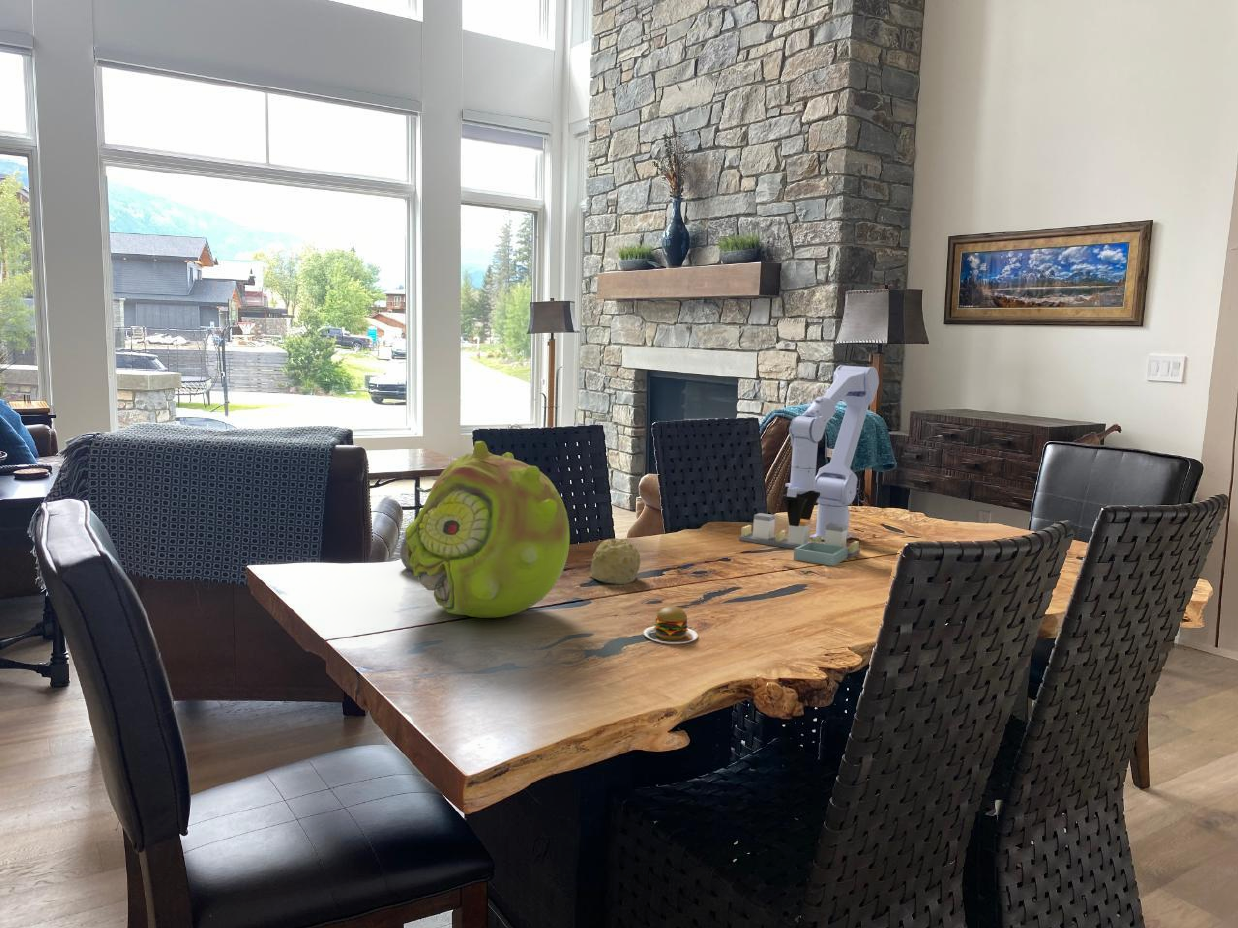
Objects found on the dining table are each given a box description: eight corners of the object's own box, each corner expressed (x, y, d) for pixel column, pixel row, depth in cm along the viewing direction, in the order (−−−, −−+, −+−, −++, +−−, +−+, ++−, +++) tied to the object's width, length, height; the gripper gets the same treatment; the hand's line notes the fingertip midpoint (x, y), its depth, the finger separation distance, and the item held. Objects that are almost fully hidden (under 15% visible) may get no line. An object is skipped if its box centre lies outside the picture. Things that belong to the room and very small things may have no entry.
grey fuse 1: (758, 534, 235) (759, 512, 234) (773, 537, 233) (775, 515, 232) (752, 537, 232) (754, 515, 231) (768, 539, 230) (769, 517, 229)
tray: (808, 551, 223) (809, 541, 222) (847, 557, 218) (848, 547, 218) (793, 559, 214) (794, 548, 214) (833, 566, 210) (834, 555, 209)
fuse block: (749, 536, 237) (749, 524, 237) (859, 553, 223) (860, 540, 223) (738, 540, 232) (739, 528, 232) (851, 558, 218) (852, 545, 218)
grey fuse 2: (829, 545, 226) (830, 523, 225) (845, 548, 224) (847, 525, 223) (824, 548, 223) (825, 525, 222) (840, 550, 221) (842, 527, 220)
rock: (630, 589, 196) (617, 544, 199) (654, 574, 187) (640, 527, 190) (589, 598, 192) (576, 551, 194) (611, 583, 182) (597, 534, 185)
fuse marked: (793, 540, 230) (794, 517, 229) (808, 542, 228) (810, 520, 227) (787, 542, 227) (789, 520, 226) (803, 545, 225) (805, 522, 224)
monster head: (392, 594, 173) (394, 430, 169) (538, 586, 183) (544, 430, 178) (418, 648, 144) (421, 452, 140) (590, 635, 154) (598, 452, 150)
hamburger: (648, 654, 148) (649, 620, 148) (624, 631, 160) (625, 599, 159) (718, 649, 152) (720, 616, 151) (690, 627, 163) (692, 595, 163)
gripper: (798, 462, 233) (794, 516, 235) (776, 467, 221) (772, 525, 223) (826, 465, 230) (821, 520, 232) (805, 471, 217) (801, 529, 219)
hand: (799, 523), depth 227 cm, fingers open, 7 cm apart
